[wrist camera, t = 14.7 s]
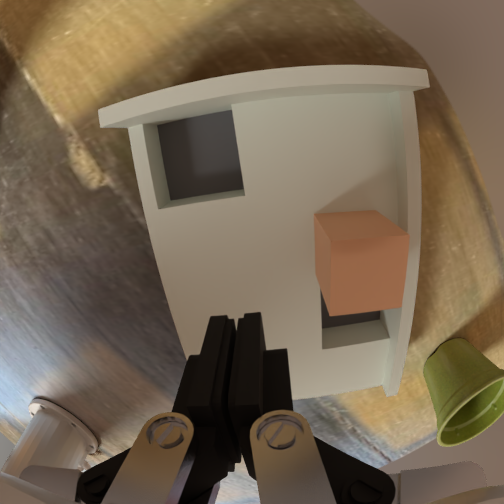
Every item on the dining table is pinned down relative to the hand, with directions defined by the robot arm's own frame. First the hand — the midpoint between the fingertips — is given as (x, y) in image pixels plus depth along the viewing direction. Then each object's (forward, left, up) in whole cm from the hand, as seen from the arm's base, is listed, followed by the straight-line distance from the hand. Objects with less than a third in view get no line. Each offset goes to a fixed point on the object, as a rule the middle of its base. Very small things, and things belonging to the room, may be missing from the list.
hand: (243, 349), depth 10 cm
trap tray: (-2, -2, -13) cm, 13 cm away
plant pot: (-16, -19, -13) cm, 28 cm away
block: (0, -6, -10) cm, 11 cm away
